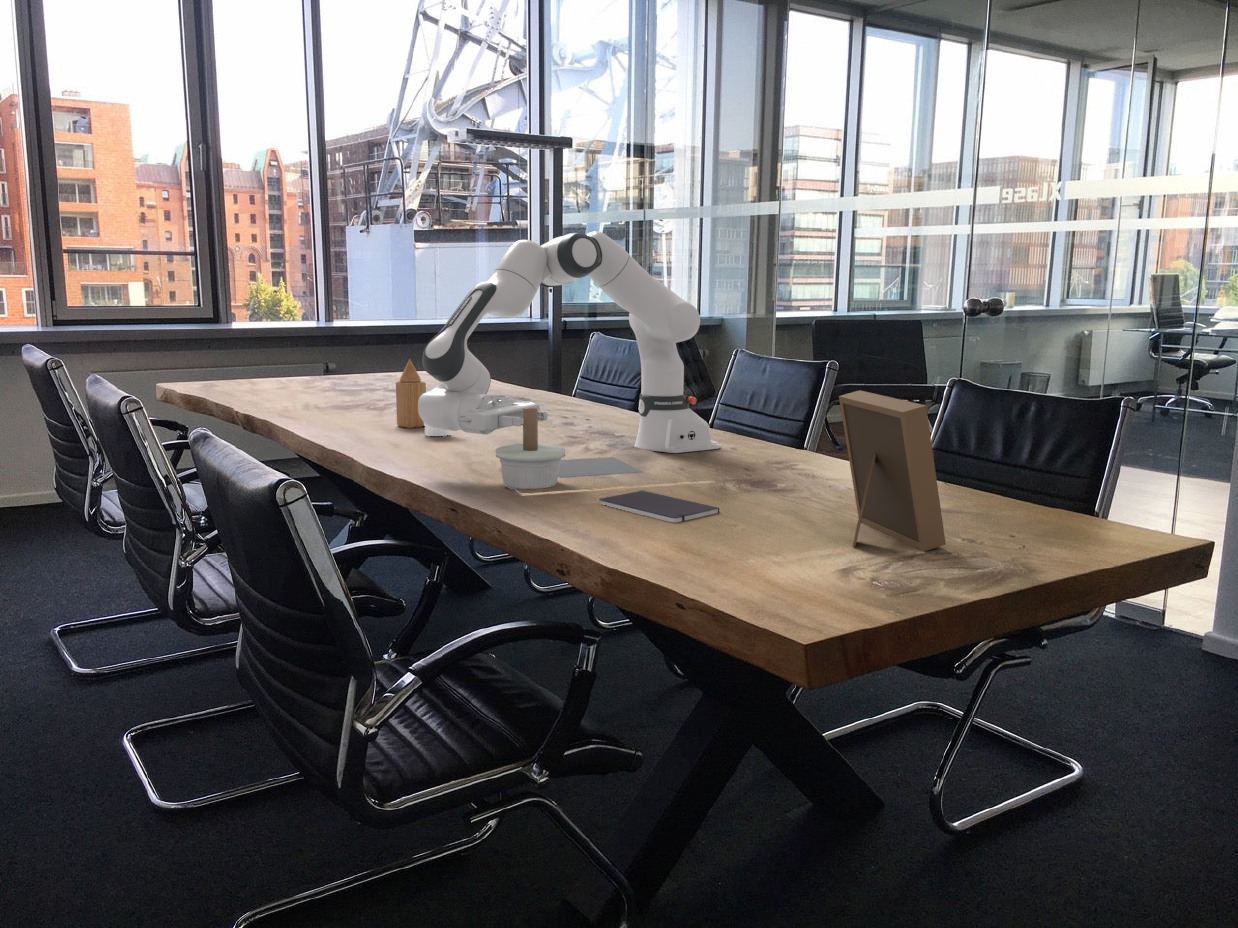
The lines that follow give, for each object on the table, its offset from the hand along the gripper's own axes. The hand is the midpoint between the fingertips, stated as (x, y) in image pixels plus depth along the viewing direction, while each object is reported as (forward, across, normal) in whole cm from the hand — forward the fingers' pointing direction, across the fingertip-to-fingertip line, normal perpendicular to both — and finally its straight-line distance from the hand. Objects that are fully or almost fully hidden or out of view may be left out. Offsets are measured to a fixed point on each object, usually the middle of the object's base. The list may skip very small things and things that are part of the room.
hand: (533, 419), depth 223 cm
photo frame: (+75, -4, +15) cm, 77 cm away
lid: (-1, 0, +8) cm, 8 cm away
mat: (0, +23, +15) cm, 27 cm away
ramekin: (-1, 0, +15) cm, 15 cm away
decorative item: (-78, +51, +15) cm, 94 cm away
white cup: (-61, +43, +15) cm, 76 cm away
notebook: (+32, -4, +15) cm, 36 cm away
